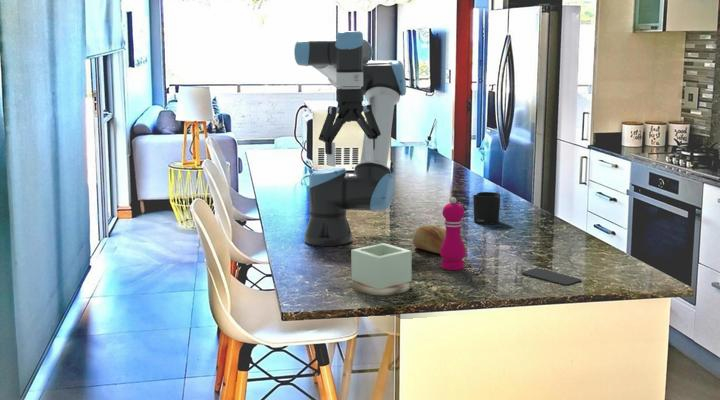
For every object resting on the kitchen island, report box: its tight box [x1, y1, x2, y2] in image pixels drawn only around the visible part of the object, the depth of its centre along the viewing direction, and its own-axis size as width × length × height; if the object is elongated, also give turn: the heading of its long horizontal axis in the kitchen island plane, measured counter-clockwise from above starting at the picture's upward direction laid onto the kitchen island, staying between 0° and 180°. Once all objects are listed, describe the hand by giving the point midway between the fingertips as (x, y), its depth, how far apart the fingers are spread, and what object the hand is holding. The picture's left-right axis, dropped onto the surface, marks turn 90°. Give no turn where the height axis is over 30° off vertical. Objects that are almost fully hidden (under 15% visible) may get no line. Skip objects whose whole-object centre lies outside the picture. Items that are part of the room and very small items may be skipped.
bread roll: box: [412, 224, 446, 255], centre depth 239 cm, size 10×15×8 cm, turn 36°
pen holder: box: [472, 191, 501, 225], centre depth 278 cm, size 9×9×10 cm
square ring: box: [350, 242, 413, 289], centre depth 204 cm, size 11×11×8 cm
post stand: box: [352, 280, 411, 296], centre depth 204 cm, size 15×15×8 cm
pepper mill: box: [439, 197, 466, 271], centre depth 220 cm, size 7×7×20 cm
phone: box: [521, 267, 582, 287], centre depth 211 cm, size 7×1×15 cm
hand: (350, 163), depth 223 cm, fingers open, 13 cm apart
